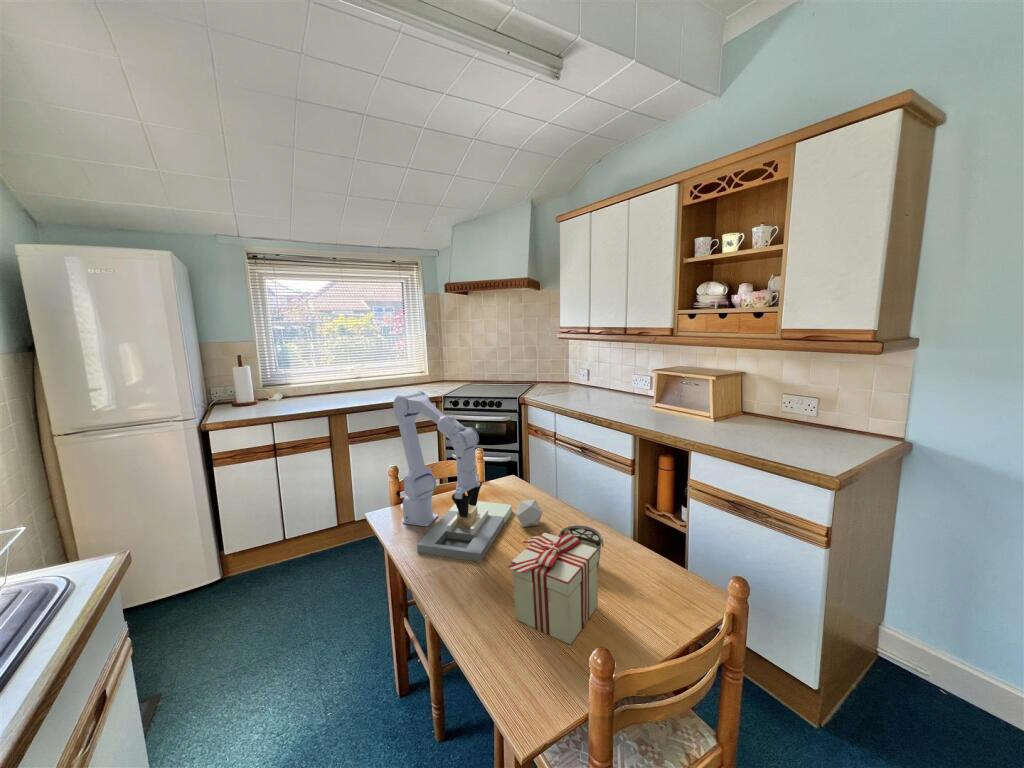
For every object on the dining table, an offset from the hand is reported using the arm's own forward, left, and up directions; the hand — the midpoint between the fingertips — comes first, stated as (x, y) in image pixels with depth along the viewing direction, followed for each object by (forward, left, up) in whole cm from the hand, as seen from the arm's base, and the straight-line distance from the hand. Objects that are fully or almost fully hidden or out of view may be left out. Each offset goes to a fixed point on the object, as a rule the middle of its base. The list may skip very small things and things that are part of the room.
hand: (468, 510), depth 129 cm
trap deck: (-2, +6, -10) cm, 11 cm away
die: (+16, +14, -10) cm, 23 cm away
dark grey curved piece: (+36, -4, -10) cm, 37 cm away
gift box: (+31, -25, -10) cm, 41 cm away
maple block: (-2, +5, -7) cm, 9 cm away
